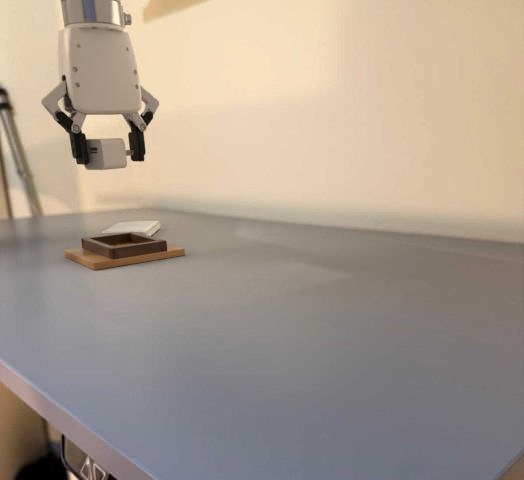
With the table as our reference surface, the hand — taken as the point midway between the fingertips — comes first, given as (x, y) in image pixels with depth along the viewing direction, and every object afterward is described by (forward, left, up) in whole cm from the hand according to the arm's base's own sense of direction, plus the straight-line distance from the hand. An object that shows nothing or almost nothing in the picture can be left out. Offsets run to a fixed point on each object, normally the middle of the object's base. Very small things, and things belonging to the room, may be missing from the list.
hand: (111, 161), depth 77 cm
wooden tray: (+1, 0, -13) cm, 13 cm away
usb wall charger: (0, 0, -1) cm, 1 cm away
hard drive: (-16, +9, -13) cm, 23 cm away
